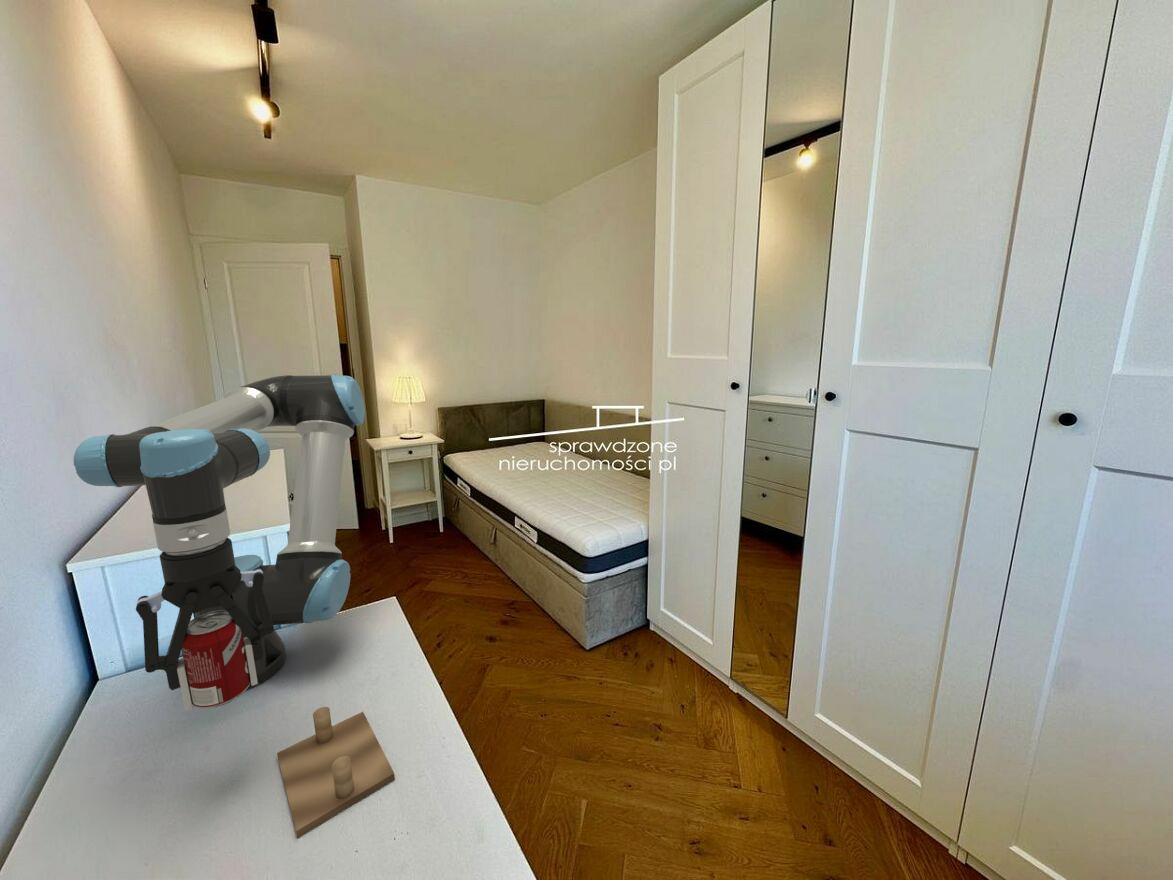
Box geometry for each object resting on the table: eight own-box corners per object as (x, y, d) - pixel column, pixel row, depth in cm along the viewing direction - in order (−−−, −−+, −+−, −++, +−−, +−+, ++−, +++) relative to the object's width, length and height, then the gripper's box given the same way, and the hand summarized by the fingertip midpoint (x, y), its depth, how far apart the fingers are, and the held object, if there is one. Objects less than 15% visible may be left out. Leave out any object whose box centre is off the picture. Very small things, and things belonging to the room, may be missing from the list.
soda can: (218, 716, 63) (204, 639, 61) (180, 707, 64) (164, 631, 62) (262, 682, 69) (251, 610, 67) (227, 675, 71) (214, 604, 68)
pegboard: (277, 759, 74) (272, 726, 73) (363, 717, 82) (360, 687, 81) (297, 838, 62) (291, 801, 61) (394, 779, 71) (391, 746, 69)
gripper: (85, 577, 53) (124, 745, 58) (285, 534, 66) (305, 675, 70) (96, 555, 59) (131, 709, 64) (278, 519, 71) (297, 650, 76)
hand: (222, 691), depth 67 cm, fingers closed on soda can, 7 cm apart
